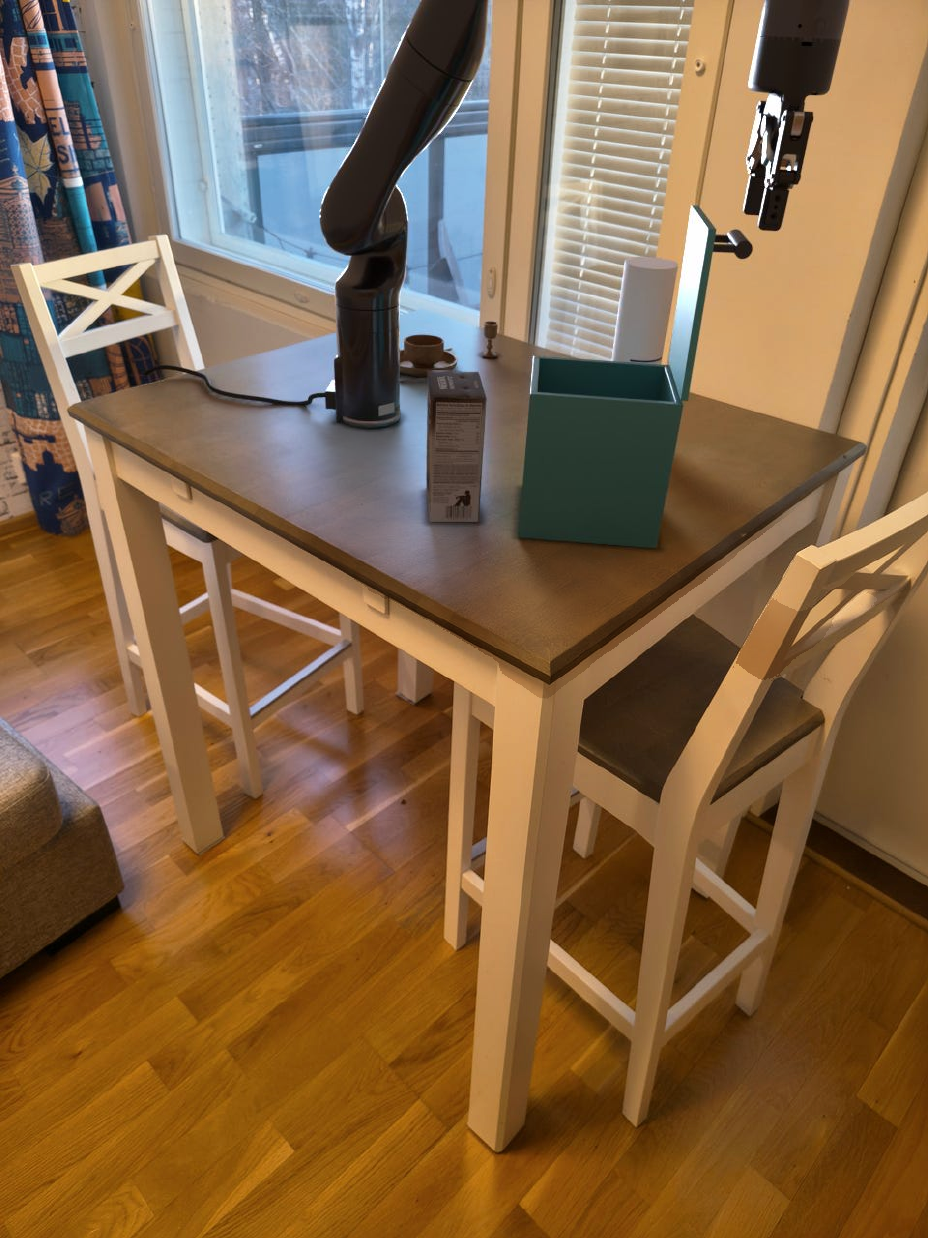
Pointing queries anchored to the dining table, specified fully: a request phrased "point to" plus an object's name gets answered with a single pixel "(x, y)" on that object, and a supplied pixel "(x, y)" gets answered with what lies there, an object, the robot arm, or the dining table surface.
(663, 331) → the cylindrical container
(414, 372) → the place setting
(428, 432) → the coffee box
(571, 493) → the teal open box
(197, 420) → the dining table surface
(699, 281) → the cool box lid
